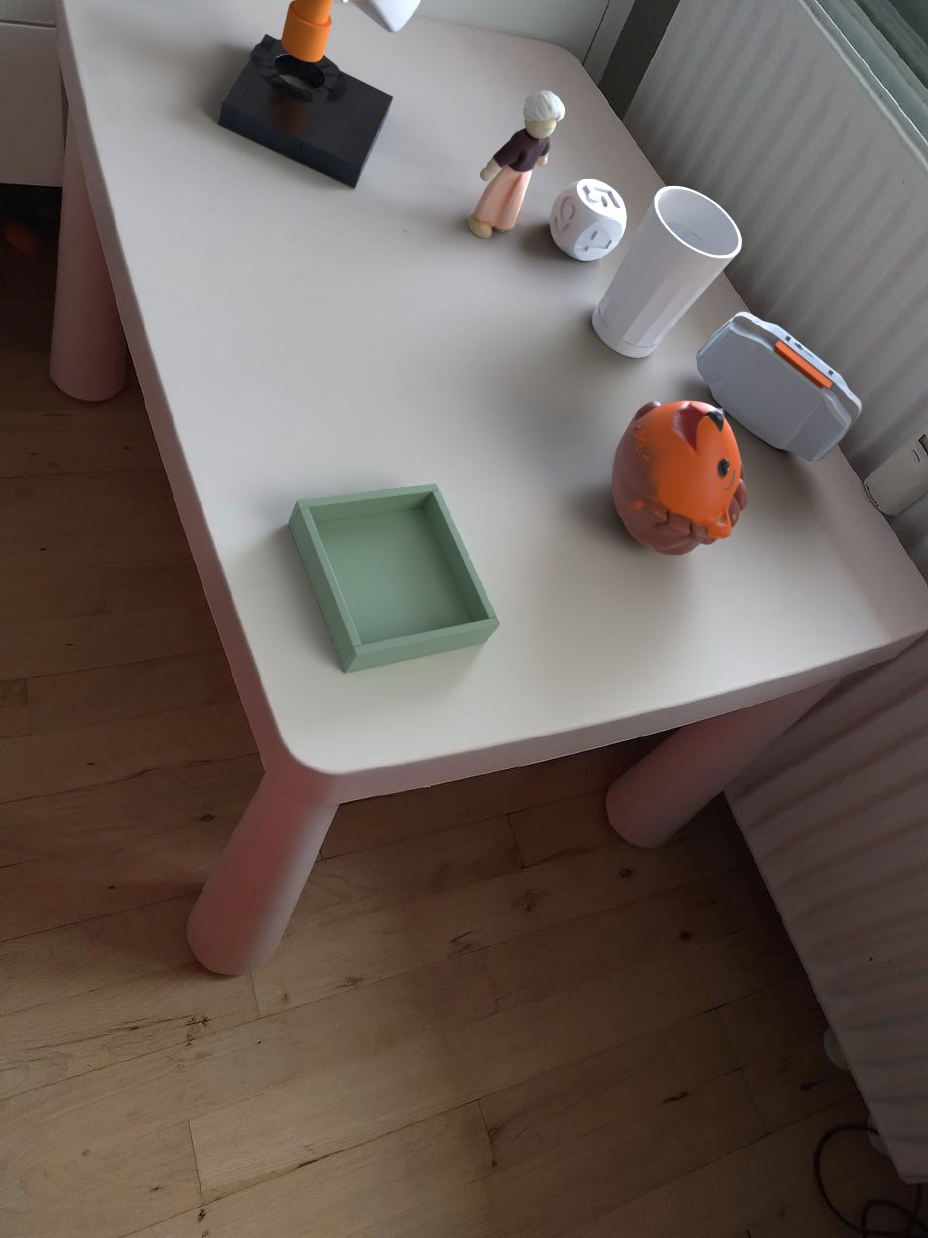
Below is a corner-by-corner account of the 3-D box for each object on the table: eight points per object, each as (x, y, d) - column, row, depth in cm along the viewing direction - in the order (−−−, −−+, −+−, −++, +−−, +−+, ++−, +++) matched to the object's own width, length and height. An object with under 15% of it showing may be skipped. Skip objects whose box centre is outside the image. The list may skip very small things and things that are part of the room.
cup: (569, 297, 86) (637, 183, 76) (638, 296, 90) (712, 187, 80) (607, 366, 83) (683, 257, 74) (677, 363, 87) (758, 258, 77)
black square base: (215, 123, 80) (219, 101, 78) (263, 47, 87) (267, 25, 86) (354, 188, 82) (361, 168, 81) (389, 109, 90) (396, 89, 88)
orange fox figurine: (582, 438, 78) (657, 336, 68) (696, 472, 81) (782, 379, 72) (588, 562, 71) (671, 468, 62) (711, 594, 74) (807, 508, 65)
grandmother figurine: (483, 251, 85) (546, 122, 74) (451, 223, 85) (508, 90, 75) (530, 222, 89) (594, 96, 79) (498, 196, 89) (559, 67, 79)
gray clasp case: (816, 461, 88) (879, 403, 81) (806, 478, 86) (869, 420, 79) (691, 360, 88) (743, 294, 82) (678, 375, 86) (731, 309, 80)
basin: (287, 522, 63) (296, 499, 61) (424, 503, 68) (436, 482, 66) (345, 673, 59) (356, 655, 57) (485, 642, 64) (500, 624, 62)
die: (607, 262, 91) (634, 219, 87) (563, 260, 88) (589, 216, 84) (586, 223, 92) (611, 179, 88) (542, 221, 90) (567, 175, 86)
